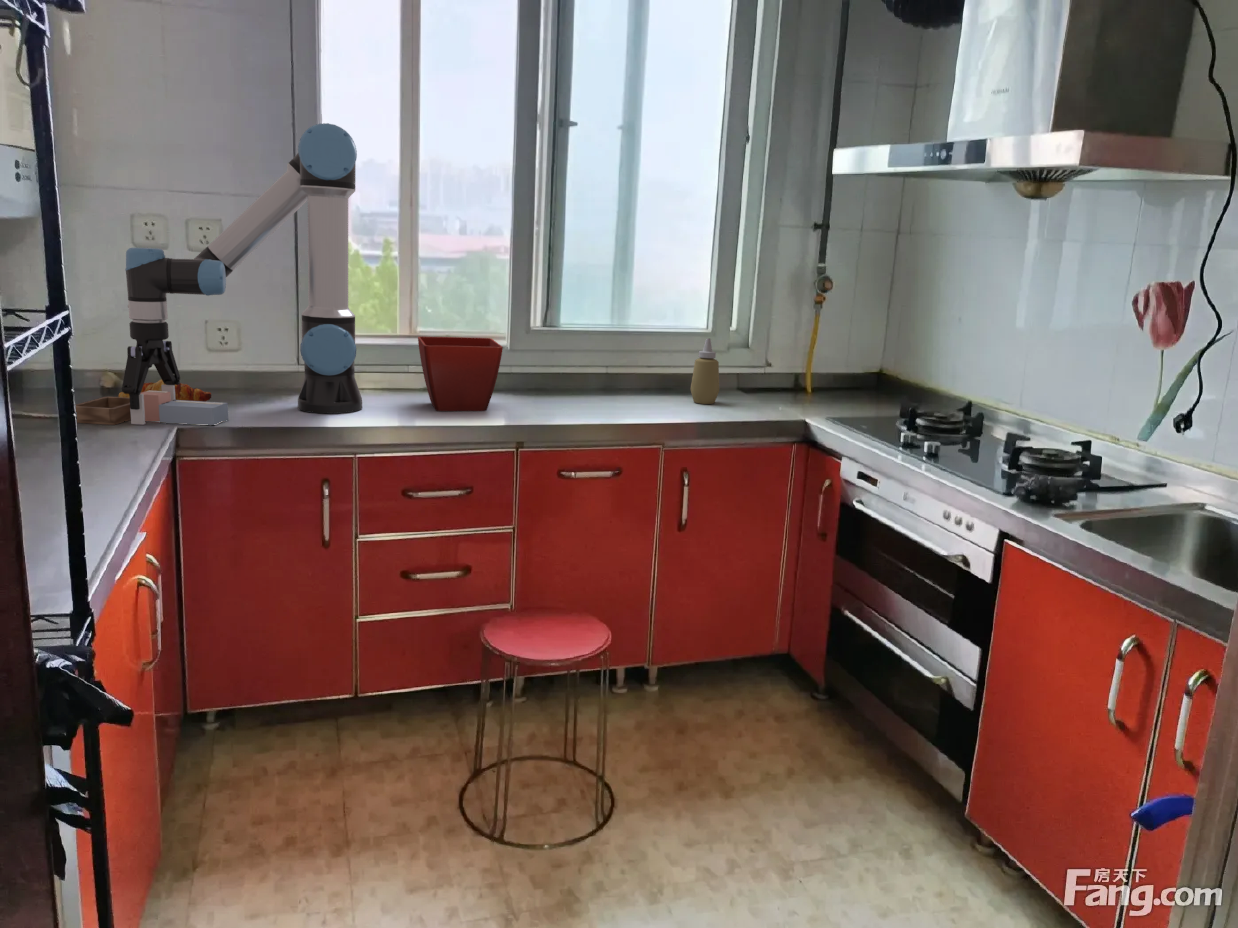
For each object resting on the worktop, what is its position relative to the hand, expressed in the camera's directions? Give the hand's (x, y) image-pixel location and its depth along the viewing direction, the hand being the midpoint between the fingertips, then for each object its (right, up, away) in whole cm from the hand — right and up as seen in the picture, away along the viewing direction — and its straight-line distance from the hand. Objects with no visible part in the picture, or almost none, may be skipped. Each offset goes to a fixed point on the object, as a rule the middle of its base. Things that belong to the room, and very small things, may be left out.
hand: (154, 418), depth 214 cm
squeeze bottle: (+126, +7, +58) cm, 139 cm away
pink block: (0, 0, 0) cm, 0 cm away
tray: (-9, 0, 0) cm, 9 cm away
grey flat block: (+9, -1, 0) cm, 9 cm away
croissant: (-6, +4, +19) cm, 20 cm away
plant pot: (+62, +4, +33) cm, 70 cm away
